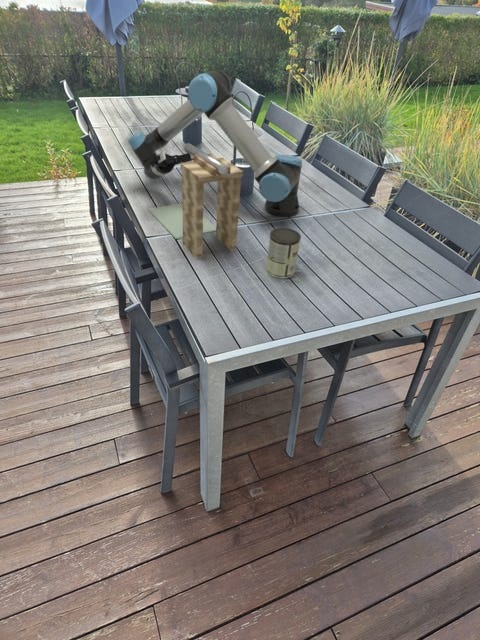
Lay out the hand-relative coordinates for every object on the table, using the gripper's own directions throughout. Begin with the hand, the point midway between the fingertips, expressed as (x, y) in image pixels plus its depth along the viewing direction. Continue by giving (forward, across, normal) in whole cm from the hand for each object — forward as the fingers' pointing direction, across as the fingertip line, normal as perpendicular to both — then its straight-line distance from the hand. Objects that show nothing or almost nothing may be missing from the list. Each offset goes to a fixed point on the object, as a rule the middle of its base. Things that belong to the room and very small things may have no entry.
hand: (181, 153), depth 162 cm
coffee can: (+28, -16, -48) cm, 58 cm away
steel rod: (+18, 0, -7) cm, 20 cm away
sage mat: (-14, 0, -23) cm, 27 cm away
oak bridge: (+7, 0, -35) cm, 36 cm away
